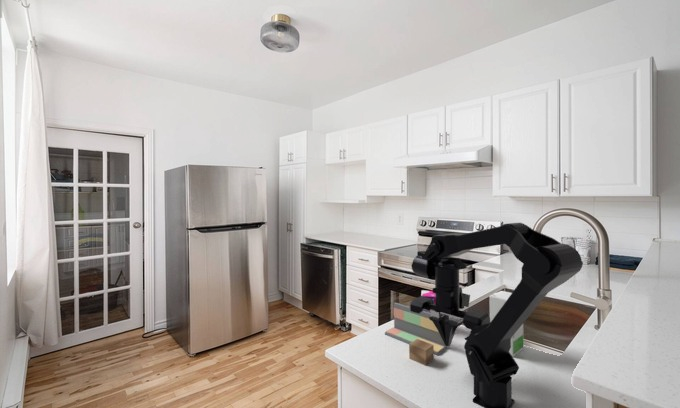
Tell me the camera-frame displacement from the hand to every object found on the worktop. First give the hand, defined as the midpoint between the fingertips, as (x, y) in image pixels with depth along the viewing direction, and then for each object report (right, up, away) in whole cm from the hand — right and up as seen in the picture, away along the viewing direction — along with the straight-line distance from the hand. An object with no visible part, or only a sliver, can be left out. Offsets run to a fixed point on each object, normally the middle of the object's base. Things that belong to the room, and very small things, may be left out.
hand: (447, 345), depth 78 cm
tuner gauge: (-4, -6, +16) cm, 18 cm away
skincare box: (+20, -6, +11) cm, 24 cm away
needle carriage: (-5, -6, +6) cm, 10 cm away
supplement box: (+3, -6, +26) cm, 27 cm away
